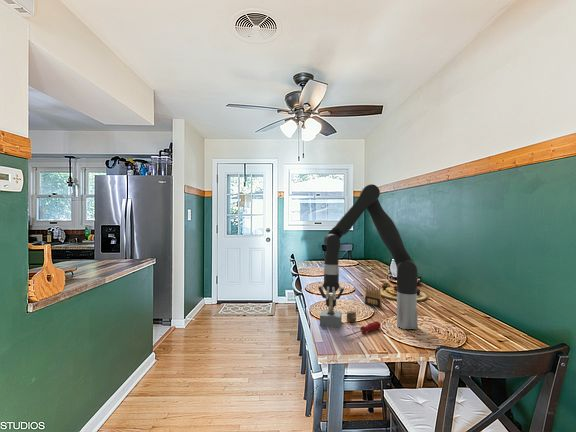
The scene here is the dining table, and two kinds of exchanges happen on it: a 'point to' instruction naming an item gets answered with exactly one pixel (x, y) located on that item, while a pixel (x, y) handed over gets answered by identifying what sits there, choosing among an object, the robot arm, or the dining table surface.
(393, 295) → the wooden plate with food
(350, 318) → the walnut stub
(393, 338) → the dining table surface
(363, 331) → the screwdriver
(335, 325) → the block
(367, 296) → the ammunition clip
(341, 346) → the dining table surface
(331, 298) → the birch dowel
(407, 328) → the robot arm
